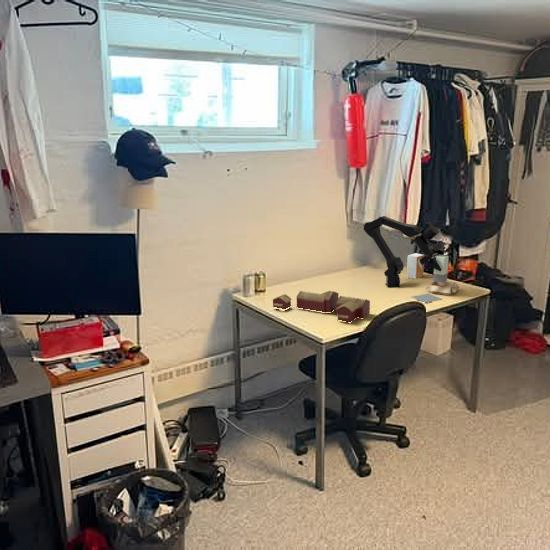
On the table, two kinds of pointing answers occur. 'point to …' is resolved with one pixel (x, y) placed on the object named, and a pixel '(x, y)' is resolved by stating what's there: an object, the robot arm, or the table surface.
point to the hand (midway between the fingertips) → (443, 269)
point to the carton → (443, 287)
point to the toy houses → (327, 304)
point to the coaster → (426, 298)
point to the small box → (414, 266)
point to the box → (443, 263)
